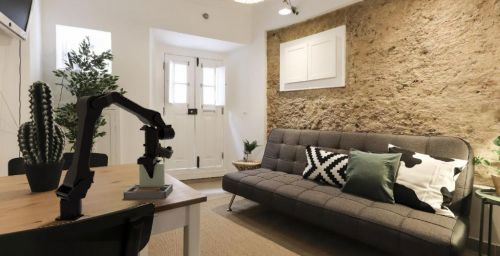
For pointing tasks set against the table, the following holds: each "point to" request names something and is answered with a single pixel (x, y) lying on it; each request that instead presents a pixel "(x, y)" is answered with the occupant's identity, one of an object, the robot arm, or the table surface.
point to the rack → (158, 194)
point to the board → (157, 177)
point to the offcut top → (146, 190)
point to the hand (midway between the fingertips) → (152, 177)
